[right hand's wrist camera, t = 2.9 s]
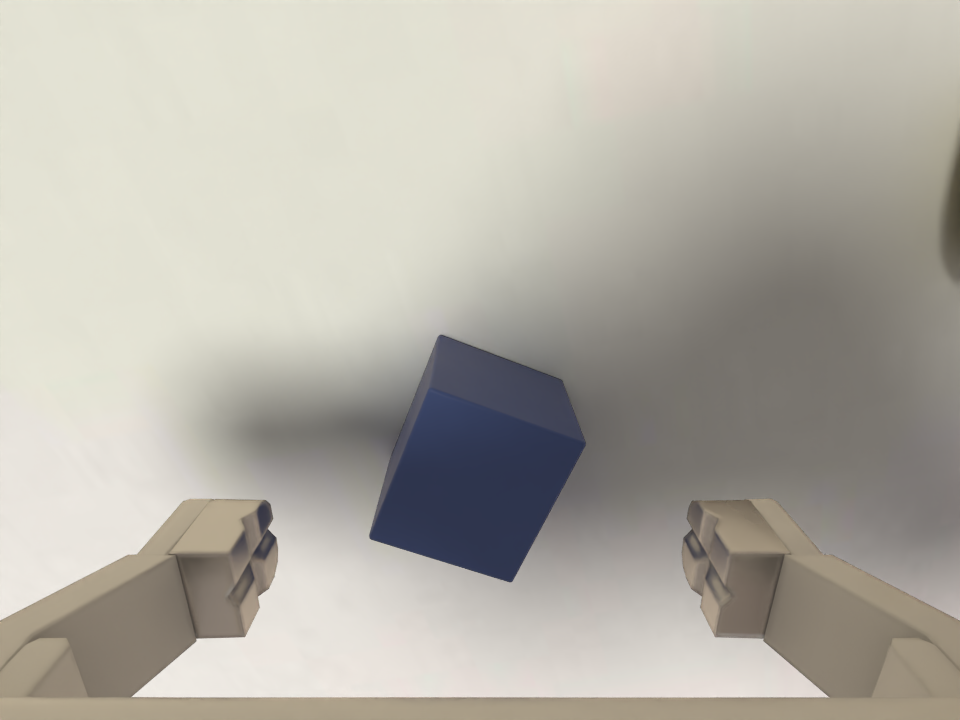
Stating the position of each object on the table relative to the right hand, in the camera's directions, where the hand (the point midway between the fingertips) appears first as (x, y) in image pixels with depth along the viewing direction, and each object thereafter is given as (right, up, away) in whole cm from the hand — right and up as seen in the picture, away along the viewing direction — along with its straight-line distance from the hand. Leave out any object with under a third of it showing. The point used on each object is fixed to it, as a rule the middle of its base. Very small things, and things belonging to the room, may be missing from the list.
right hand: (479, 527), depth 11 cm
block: (0, +1, +7) cm, 7 cm away
